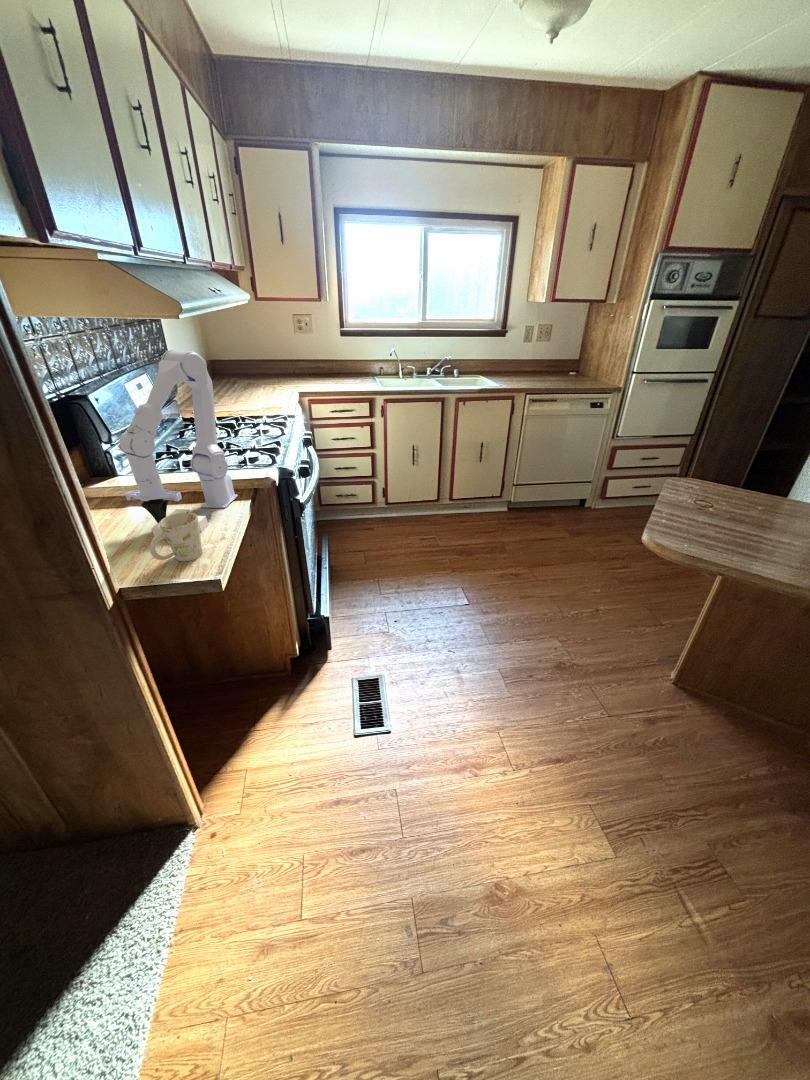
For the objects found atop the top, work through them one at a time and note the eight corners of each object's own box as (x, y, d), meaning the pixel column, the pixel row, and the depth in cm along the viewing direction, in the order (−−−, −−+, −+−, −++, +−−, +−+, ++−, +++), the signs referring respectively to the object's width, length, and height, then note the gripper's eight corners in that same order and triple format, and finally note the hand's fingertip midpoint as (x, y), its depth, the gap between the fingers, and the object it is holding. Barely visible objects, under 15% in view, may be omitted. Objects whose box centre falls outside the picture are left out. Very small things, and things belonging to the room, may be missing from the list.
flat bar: (195, 515, 126) (193, 509, 125) (211, 516, 126) (209, 510, 125) (165, 541, 113) (163, 535, 112) (183, 542, 113) (181, 535, 112)
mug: (214, 551, 108) (204, 516, 103) (168, 576, 99) (155, 538, 94) (193, 543, 112) (183, 509, 107) (147, 566, 102) (134, 530, 97)
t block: (178, 518, 125) (176, 509, 124) (214, 519, 124) (212, 509, 123) (155, 538, 115) (151, 528, 113) (194, 539, 114) (191, 529, 112)
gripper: (111, 482, 110) (128, 529, 116) (165, 483, 109) (179, 530, 115) (128, 473, 116) (144, 517, 123) (179, 473, 115) (192, 518, 121)
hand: (162, 523), depth 119 cm, fingers closed
